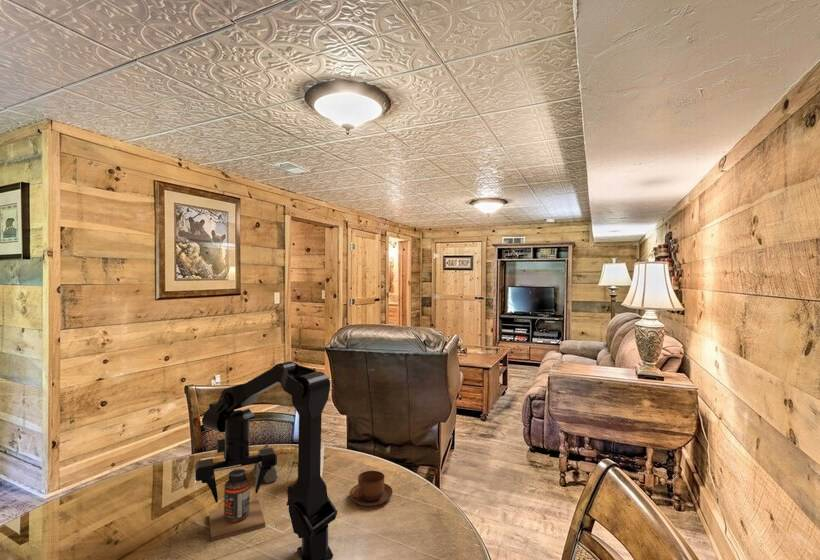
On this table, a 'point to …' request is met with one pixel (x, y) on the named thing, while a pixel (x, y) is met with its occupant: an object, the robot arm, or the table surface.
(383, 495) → the cup and saucer
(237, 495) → the supplement bottle
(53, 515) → the table surface
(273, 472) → the mineral rock
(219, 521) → the walnut base
